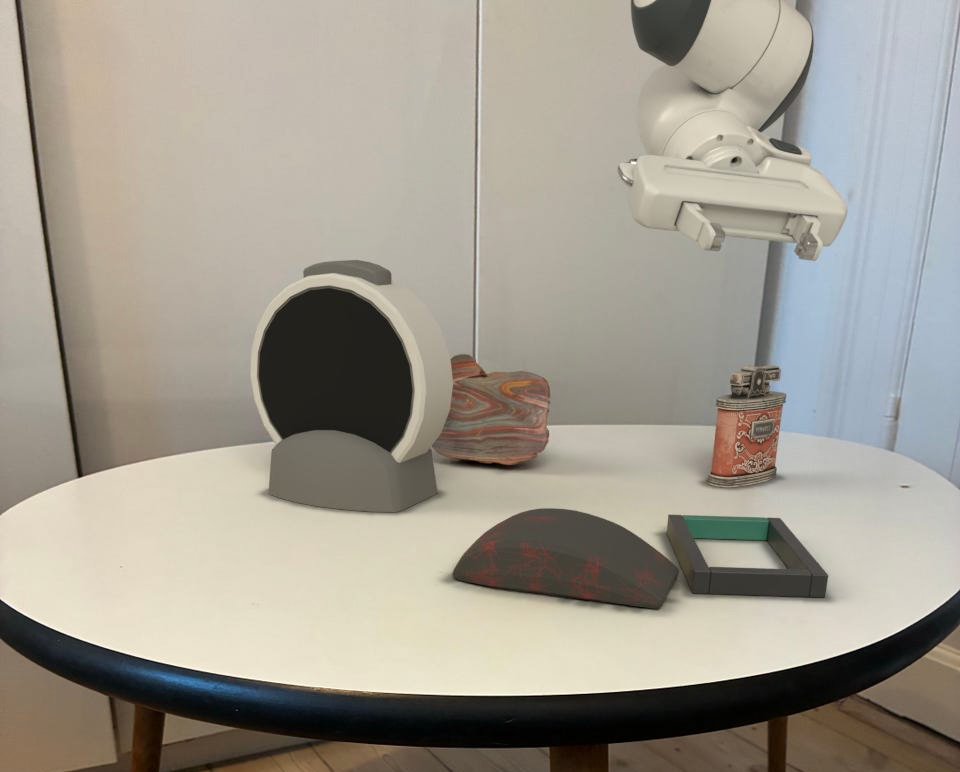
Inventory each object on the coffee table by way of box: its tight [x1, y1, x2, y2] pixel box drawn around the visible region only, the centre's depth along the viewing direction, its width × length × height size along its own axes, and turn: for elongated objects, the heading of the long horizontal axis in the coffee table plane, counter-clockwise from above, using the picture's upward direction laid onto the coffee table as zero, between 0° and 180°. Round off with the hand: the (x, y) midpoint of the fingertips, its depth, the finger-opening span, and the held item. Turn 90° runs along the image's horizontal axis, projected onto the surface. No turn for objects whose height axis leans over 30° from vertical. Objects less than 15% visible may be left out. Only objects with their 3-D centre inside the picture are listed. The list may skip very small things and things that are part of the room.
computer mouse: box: [451, 507, 680, 610], centre depth 65 cm, size 8×14×4 cm, turn 71°
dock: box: [666, 514, 829, 598], centre depth 69 cm, size 8×13×2 cm, turn 177°
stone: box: [431, 353, 551, 466], centre depth 96 cm, size 13×8×10 cm
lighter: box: [707, 364, 787, 488], centre depth 91 cm, size 8×3×10 cm, turn 129°
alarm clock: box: [249, 259, 453, 513], centre depth 82 cm, size 16×10×18 cm, turn 65°
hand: (764, 248), depth 89 cm, fingers open, 8 cm apart
